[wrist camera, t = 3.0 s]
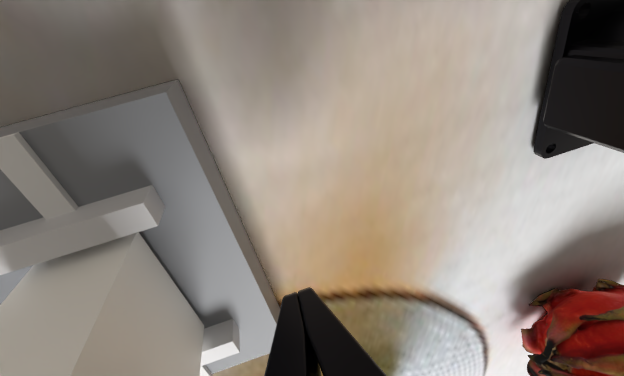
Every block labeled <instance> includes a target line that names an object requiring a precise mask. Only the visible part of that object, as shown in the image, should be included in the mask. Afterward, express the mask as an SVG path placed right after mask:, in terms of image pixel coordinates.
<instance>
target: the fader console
mask: <svg viewBox="0 0 624 376" xmlns="http://www.w3.org/2000/svg"><path fill="white" fill-rule="evenodd" d="M137 232H139V234H140V235H141V236H142V238H143V239H144V241H145V242H146V244H147V245H148V246H149V248H150V249H151V251H152V252H153V253H154V255H155V256H156V258H157V259H158V261H159V262H160V263H161V265H162V266H163V268H164V269H165V270H166V272H167V273H168V275H169V276H170V278H171V279H172V280H173V282H174V283H175V285H176V286H177V288H178V289H179V290H180V292H181V293H182V295H183V296H184V297H185V299H186V300H187V302H188V303H189V305H190V306H191V307H192V309H193V310H194V312H195V313H196V315H197V316H198V317H199V319H200V320H201V322H202V323H203V324H204V334H203V345H202V355H201V365H200V376H212V374H213V373H216V372H219V371H222V370H224V369H227V368H230V367H233V366H236V365H238V364H241V363H244V362H247V361H249V360H252V359H255V358H258V357H260V356H263V355H266V354H269V353H270V350H271V346H272V342H273V338H274V333H275V329H276V325H277V321H278V317H279V312H280V307H279V305H278V303H277V300H276V298H275V296H274V294H273V291H272V289H271V287H270V285H269V282H268V280H267V278H266V276H265V273H264V271H263V269H262V267H261V264H260V262H259V260H258V258H257V255H256V253H255V251H254V249H253V246H252V244H251V242H250V239H249V237H248V235H247V233H246V230H245V228H244V226H243V224H242V221H241V219H240V217H239V215H238V212H237V210H236V208H235V206H234V203H233V201H232V199H231V197H230V194H229V192H228V190H227V188H226V185H225V183H224V181H223V179H222V176H221V174H220V172H219V170H218V167H217V165H216V163H215V161H214V158H213V156H212V154H211V152H210V149H209V147H208V145H207V143H206V140H205V138H204V136H203V134H202V131H201V129H200V127H199V125H198V122H197V120H196V118H195V116H194V113H193V111H192V109H191V107H190V104H189V102H188V100H187V98H186V95H185V93H184V91H183V89H182V86H181V84H180V82H179V80H178V79H177V80H173V81H170V82H166V83H162V84H159V85H155V86H151V87H147V88H144V89H140V90H136V91H133V92H129V93H125V94H122V95H118V96H114V97H111V98H107V99H103V100H99V101H96V102H92V103H88V104H85V105H81V106H77V107H74V108H70V109H66V110H62V111H59V112H55V113H51V114H48V115H44V116H40V117H37V118H33V119H29V120H26V121H22V122H18V123H14V124H11V125H7V126H3V127H0V305H1V304H2V302H3V301H4V300H5V299H6V298H7V296H8V295H9V294H10V293H11V292H12V290H13V289H14V288H15V287H16V285H17V284H18V283H19V282H20V281H21V279H22V278H23V277H24V276H25V275H26V273H27V272H28V271H29V270H30V269H31V267H32V266H33V265H35V264H38V263H41V262H44V261H48V260H51V259H54V258H57V257H60V256H64V255H67V254H70V253H73V252H76V251H80V250H83V249H86V248H89V247H92V246H96V245H99V244H102V243H105V242H108V241H112V240H115V239H118V238H121V237H124V236H128V235H131V234H134V233H137Z"/></svg>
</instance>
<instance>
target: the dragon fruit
mask: <svg viewBox="0 0 624 376" xmlns="http://www.w3.org/2000/svg"><path fill="white" fill-rule="evenodd" d="M600 281H601V282H600ZM536 305H539V306H543V308H544V309H545V310H546V311H547V312H548V313H547V315H546V316H545V317H544V318H543V319H542V320H538V321H537V322H535V323H534V324H533V325H532V328H530V329H521V332H522V340H523V347H524V348H525V350H526V351H527V352H530V353H533V355H528V357H529V358H530V360H529V362H528V364H527V371H528V373H529V375H530V376H624V285H621V284H618V283H616V282H613V281H610V280H606V279H598V280H597V284H596V286H595V287H594V289H593V291H591V292H588V291H580V290H576V289H566V290H561V291H559V289H553V290H551V291H548V292H546V293H543V294H541V295H540V296H538V297H537V298H536V299H535V300H534V301H533V302H532V303H530V304H529V306H536Z"/></svg>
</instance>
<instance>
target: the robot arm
mask: <svg viewBox="0 0 624 376" xmlns="http://www.w3.org/2000/svg"><path fill="white" fill-rule="evenodd" d="M578 11H579V12H578ZM592 143H596V144H599V145H602V146H605V147H608V148H611V149H614V150H617V151H620V152H623V153H624V0H570V1H569V2H567V4H566V5H565V7H564V9H563V11H562V14H561V19H560V24H559V29H558V33H557V38H556V43H555V48H554V53H553V57H552V62H551V67H550V72H549V77H548V82H547V86H546V91H545V96H544V101H543V106H542V111H541V115H540V120H539V125H538V130H537V135H536V139H535V144H534V153H535V154H536V155H538V156H540V157H543V158H550V157H553V156H556V155H559V154H562V153H565V152H568V151H571V150H574V149H577V148H580V147H583V146H586V145H589V144H592ZM319 366H320V367H319ZM320 368H321V371H322V373H323V376H386V374H385V373H384V372H383V371H382V370H381V369H380V367H379V366H378V365H377V364H376V363H375V362H374V360H373V359H372V358H371V357H370V356H369V355H368V353H367V352H366V351H365V350H364V349H363V348H362V346H361V345H360V344H359V343H358V342H357V341H356V339H355V338H354V337H353V336H352V335H351V333H350V332H349V331H348V330H347V329H346V328H345V326H344V325H343V324H342V323H341V322H340V321H339V319H338V318H337V317H336V316H335V315H334V314H333V312H332V311H331V310H330V309H329V308H328V307H327V305H326V304H325V303H324V302H323V301H322V300H321V298H320V297H319V296H318V295H317V294H316V293H315V291H314V290H313V289H312V288H310V287H309V288H306V289H303V290H300V291H299V292H298V293H296V292H294V293H291V294H289V295H286V296H284V297H283V300H282V304H281V308H280V312H279V317H278V321H277V325H276V329H275V333H274V338H273V342H272V346H271V350H270V354H269V359H268V363H267V367H266V371H265V375H264V376H321V371H320Z"/></svg>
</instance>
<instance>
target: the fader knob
mask: <svg viewBox="0 0 624 376" xmlns="http://www.w3.org/2000/svg"><path fill="white" fill-rule="evenodd" d="M203 334H204V324H203V323H202V322H201V320H200V319H199V317H198V316H197V315H196V313H195V312H194V310H193V309H192V307H191V306H190V305H189V303H188V302H187V300H186V299H185V297H184V296H183V295H182V293H181V292H180V290H179V289H178V288H177V286H176V285H175V283H174V282H173V280H172V279H171V278H170V276H169V275H168V273H167V272H166V270H165V269H164V268H163V266H162V265H161V263H160V262H159V261H158V259H157V258H156V256H155V255H154V253H153V252H152V251H151V249H150V248H149V246H148V245H147V244H146V242H145V241H144V239H143V238H142V236H141V235H140V234H139V232H137V233H134V234H131V235H128V236H124V237H121V238H118V239H115V240H112V241H108V242H105V243H102V244H99V245H96V246H92V247H89V248H86V249H83V250H80V251H76V252H73V253H70V254H67V255H64V256H60V257H57V258H54V259H51V260H48V261H44V262H41V263H38V264H35V265H33V266H32V267H31V269H30V270H29V271H28V272H27V273H26V275H25V276H24V277H23V278H22V279H21V281H20V282H19V283H18V284H17V285H16V287H15V288H14V289H13V290H12V292H11V293H10V294H9V295H8V296H7V298H6V299H5V300H4V301H3V302H2V304H1V305H0V376H200V365H201V355H202V345H203Z"/></svg>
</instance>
